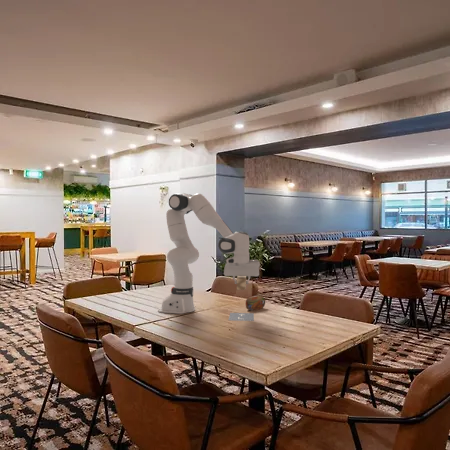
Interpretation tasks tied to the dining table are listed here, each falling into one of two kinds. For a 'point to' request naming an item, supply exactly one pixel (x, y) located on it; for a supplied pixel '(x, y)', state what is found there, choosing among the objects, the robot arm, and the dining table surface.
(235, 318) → the card
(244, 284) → the oak block
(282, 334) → the dining table surface
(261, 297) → the tin
